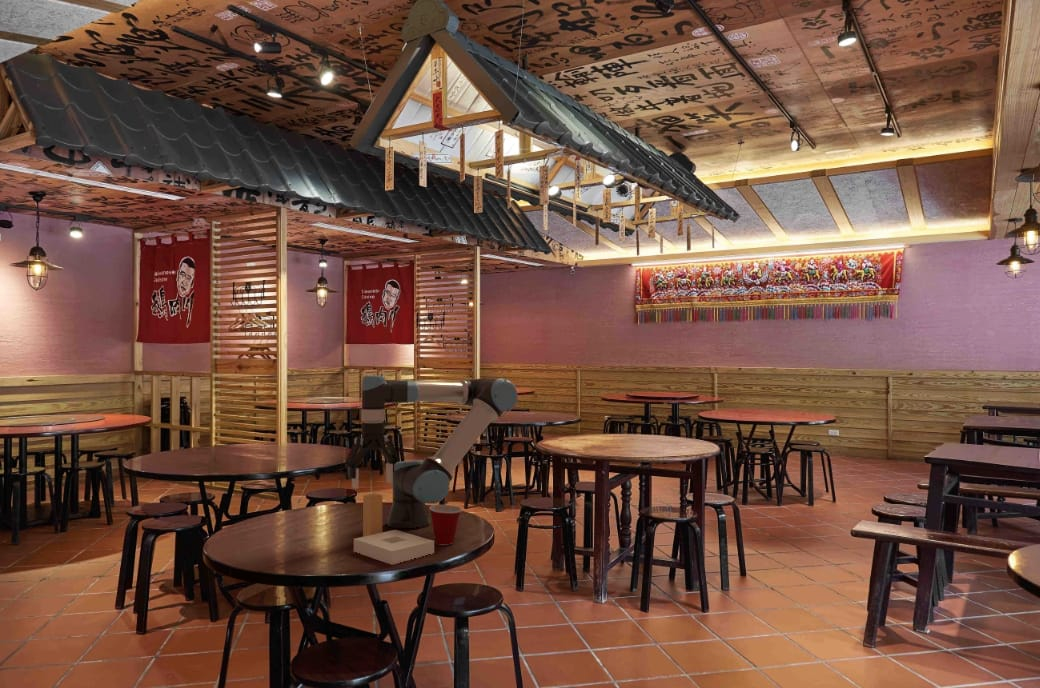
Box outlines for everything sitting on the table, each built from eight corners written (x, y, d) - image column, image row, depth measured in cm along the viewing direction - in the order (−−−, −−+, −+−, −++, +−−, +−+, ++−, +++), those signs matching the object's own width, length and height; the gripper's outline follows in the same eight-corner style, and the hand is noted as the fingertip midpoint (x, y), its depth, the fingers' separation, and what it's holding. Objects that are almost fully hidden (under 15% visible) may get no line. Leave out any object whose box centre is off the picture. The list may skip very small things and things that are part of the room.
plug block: (374, 537, 239) (374, 493, 240) (382, 540, 236) (382, 495, 236) (363, 540, 236) (363, 495, 236) (370, 542, 233) (371, 497, 233)
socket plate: (395, 541, 234) (395, 529, 234) (434, 553, 221) (434, 540, 221) (353, 551, 223) (353, 538, 223) (392, 564, 209) (392, 551, 209)
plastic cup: (461, 548, 227) (462, 510, 227) (427, 548, 227) (428, 510, 227) (462, 539, 238) (462, 503, 238) (429, 539, 237) (430, 503, 238)
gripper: (396, 418, 248) (396, 479, 248) (334, 423, 230) (333, 489, 230) (410, 420, 243) (409, 482, 243) (347, 425, 225) (346, 492, 225)
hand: (372, 485), depth 236 cm, fingers open, 13 cm apart
